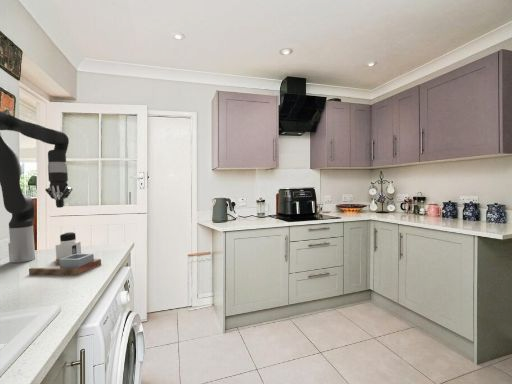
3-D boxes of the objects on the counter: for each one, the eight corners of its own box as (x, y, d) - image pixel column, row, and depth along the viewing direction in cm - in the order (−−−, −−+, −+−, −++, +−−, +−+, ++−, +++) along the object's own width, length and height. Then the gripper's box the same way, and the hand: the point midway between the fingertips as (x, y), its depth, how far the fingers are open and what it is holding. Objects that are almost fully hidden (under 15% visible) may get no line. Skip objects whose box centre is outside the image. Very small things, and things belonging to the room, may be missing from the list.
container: (81, 255, 142) (80, 231, 141) (70, 260, 134) (68, 234, 134) (68, 255, 143) (66, 231, 142) (55, 260, 135) (54, 234, 134)
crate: (60, 272, 116) (59, 259, 115) (76, 266, 125) (75, 253, 124) (79, 273, 115) (78, 259, 114) (94, 266, 124) (93, 253, 123)
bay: (29, 274, 114) (28, 268, 114) (58, 263, 129) (58, 258, 129) (76, 275, 111) (76, 269, 111) (101, 264, 126) (100, 258, 126)
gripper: (38, 172, 126) (40, 208, 127) (64, 171, 125) (66, 208, 125) (52, 172, 134) (54, 206, 134) (76, 171, 132) (78, 206, 133)
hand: (60, 207), depth 130 cm, fingers closed
